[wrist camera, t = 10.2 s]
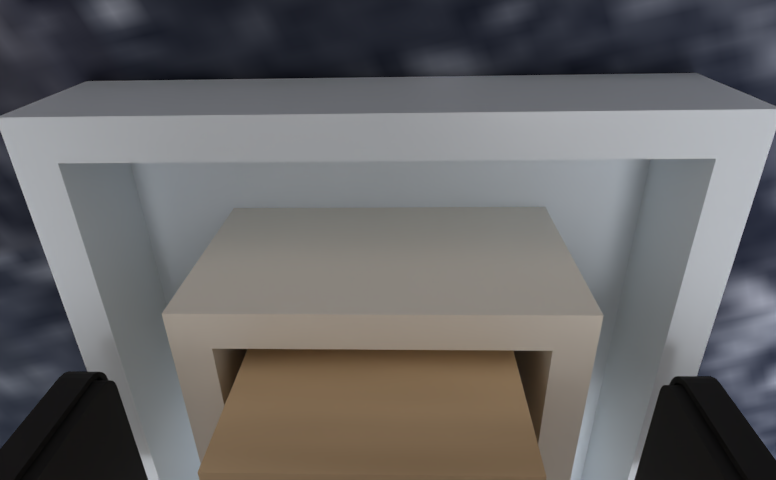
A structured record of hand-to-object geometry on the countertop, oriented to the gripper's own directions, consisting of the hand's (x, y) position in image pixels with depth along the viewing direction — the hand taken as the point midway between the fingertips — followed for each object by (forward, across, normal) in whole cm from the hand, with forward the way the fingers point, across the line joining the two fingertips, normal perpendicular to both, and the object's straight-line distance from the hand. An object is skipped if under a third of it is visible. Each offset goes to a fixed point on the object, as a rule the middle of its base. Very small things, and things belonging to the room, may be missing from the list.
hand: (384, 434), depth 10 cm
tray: (+3, 0, 0) cm, 3 cm away
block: (+2, 0, 0) cm, 2 cm away
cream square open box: (+3, 0, 0) cm, 3 cm away
